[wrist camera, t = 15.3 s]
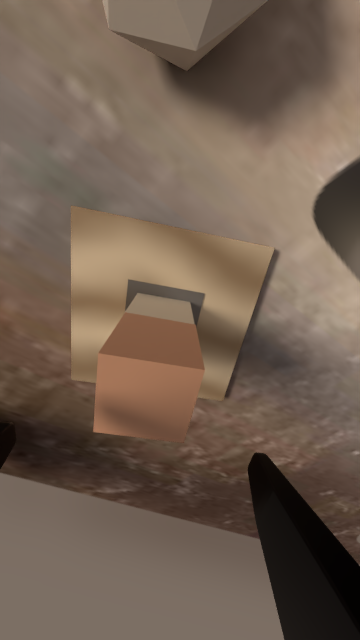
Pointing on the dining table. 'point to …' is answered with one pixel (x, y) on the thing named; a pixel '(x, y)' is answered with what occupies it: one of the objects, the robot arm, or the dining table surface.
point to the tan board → (161, 286)
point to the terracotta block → (148, 379)
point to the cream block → (161, 308)
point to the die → (178, 25)
